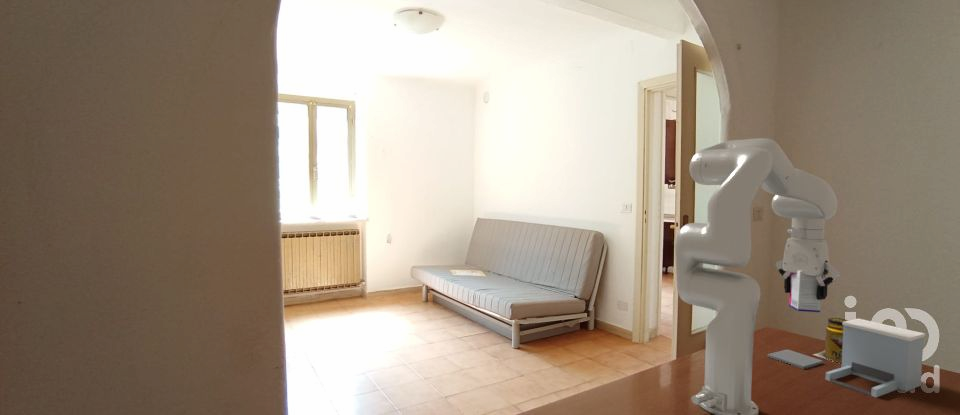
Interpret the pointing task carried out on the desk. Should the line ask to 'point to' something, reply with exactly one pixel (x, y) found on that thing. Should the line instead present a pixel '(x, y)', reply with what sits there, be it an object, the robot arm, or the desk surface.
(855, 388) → the bar
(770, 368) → the desk surface
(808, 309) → the supplement box
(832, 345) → the condiment
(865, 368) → the dispenser
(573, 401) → the desk surface
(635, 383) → the desk surface
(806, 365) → the coaster
